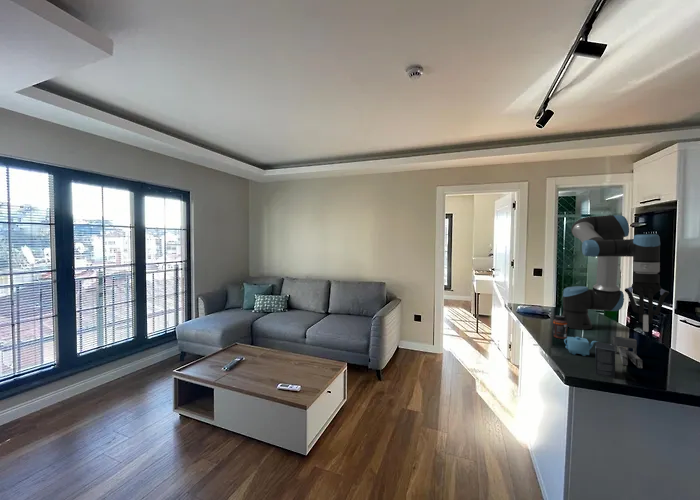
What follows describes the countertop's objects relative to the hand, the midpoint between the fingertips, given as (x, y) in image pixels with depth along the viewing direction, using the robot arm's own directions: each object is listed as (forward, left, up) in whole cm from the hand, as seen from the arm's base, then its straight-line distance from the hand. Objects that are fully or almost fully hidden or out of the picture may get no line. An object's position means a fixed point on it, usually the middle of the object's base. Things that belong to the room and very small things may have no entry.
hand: (645, 330), depth 120 cm
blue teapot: (0, -21, -14) cm, 25 cm away
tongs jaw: (+1, -3, -14) cm, 14 cm away
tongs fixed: (-1, -6, -14) cm, 15 cm away
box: (+19, -13, -14) cm, 27 cm away
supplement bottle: (-22, -29, -14) cm, 39 cm away
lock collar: (-10, -5, -14) cm, 18 cm away
